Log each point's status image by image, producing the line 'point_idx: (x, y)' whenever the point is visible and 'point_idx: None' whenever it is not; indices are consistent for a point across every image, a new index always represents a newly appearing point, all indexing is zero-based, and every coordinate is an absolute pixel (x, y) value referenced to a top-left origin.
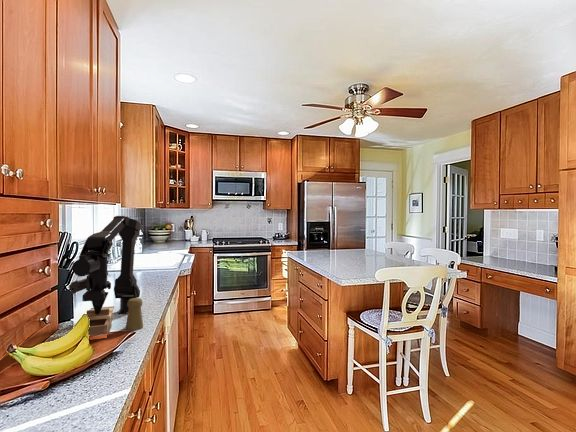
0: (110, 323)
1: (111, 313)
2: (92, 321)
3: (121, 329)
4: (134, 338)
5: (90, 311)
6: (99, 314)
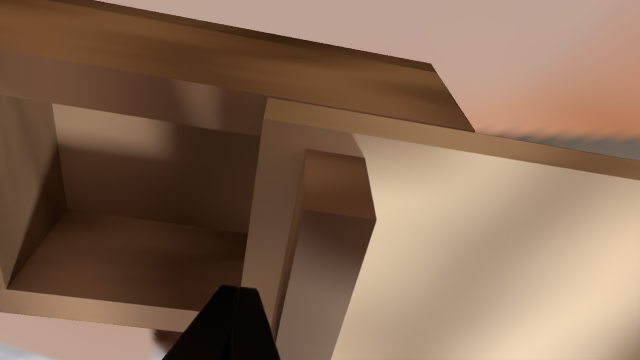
0: None
1: None
2: None
3: None
4: (15, 350)
5: (293, 257)
6: (277, 304)
